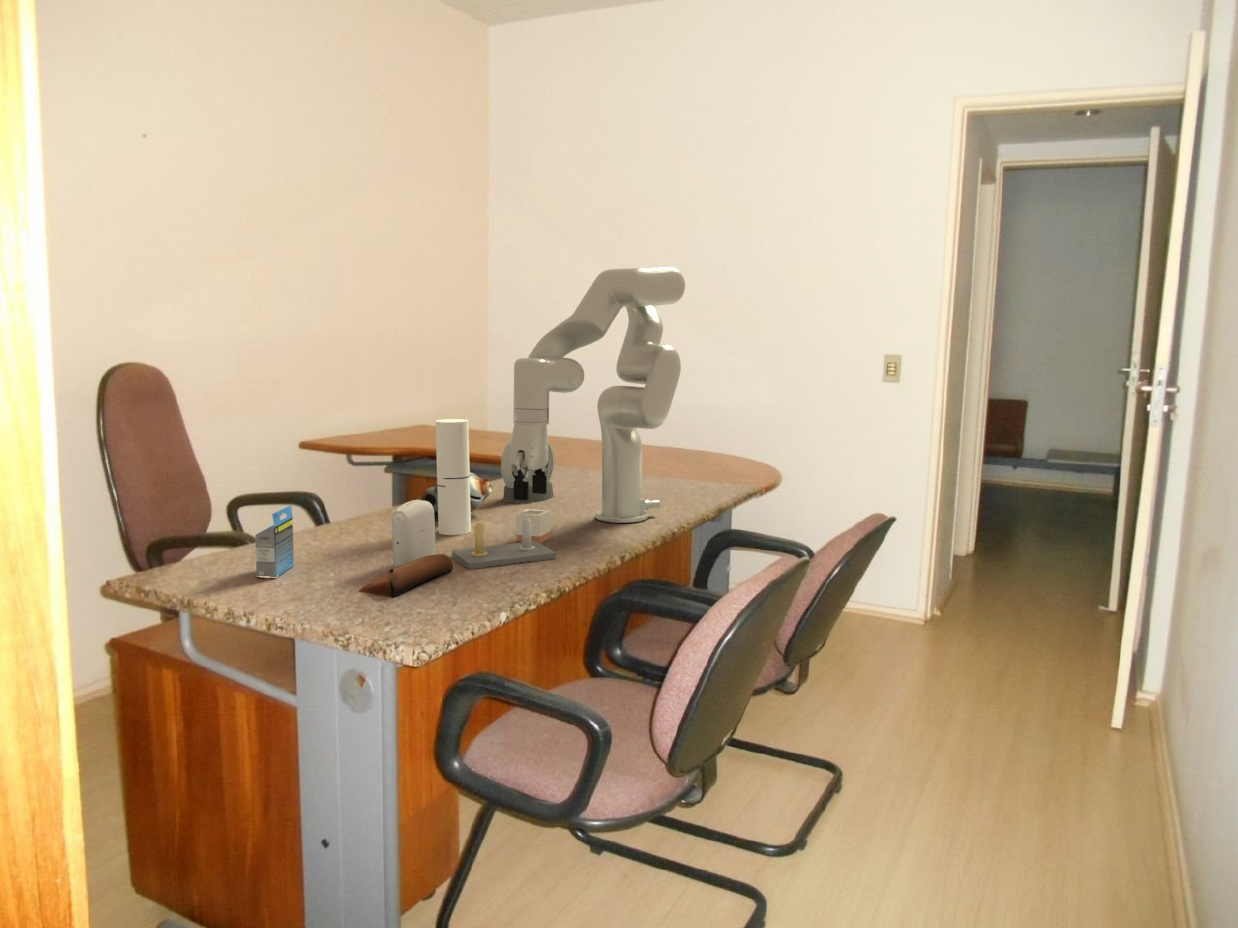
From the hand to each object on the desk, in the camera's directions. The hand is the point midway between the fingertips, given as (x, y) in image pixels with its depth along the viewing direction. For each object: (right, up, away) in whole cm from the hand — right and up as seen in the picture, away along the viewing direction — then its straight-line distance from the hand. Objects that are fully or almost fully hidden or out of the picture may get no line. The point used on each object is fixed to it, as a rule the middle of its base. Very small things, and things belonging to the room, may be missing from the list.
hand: (530, 496), depth 198 cm
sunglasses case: (-19, -15, -30) cm, 39 cm away
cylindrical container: (-18, -8, +10) cm, 22 cm away
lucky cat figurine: (-20, -6, +26) cm, 33 cm away
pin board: (-4, -12, -13) cm, 18 cm away
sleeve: (+1, -9, +2) cm, 10 cm away
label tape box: (-45, -14, -24) cm, 53 cm away
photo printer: (-21, -13, -17) cm, 30 cm away
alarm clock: (-5, -2, +48) cm, 48 cm away
